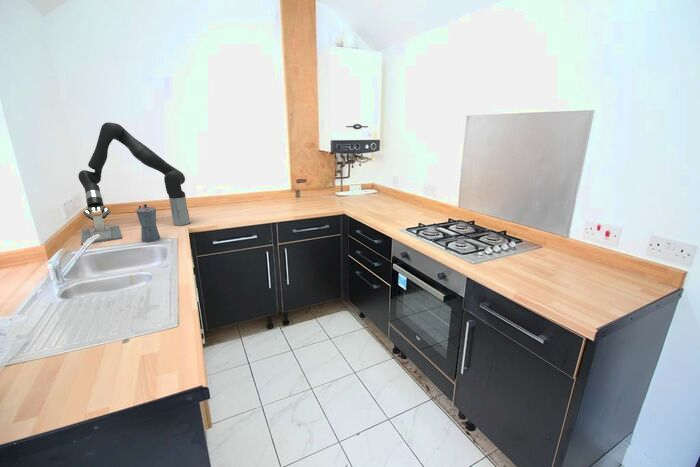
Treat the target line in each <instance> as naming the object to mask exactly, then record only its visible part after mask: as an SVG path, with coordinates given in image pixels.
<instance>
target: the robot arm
mask: <svg viewBox="0 0 700 467" xmlns="http://www.w3.org/2000/svg"><path fill="white" fill-rule="evenodd" d="M113 140H116V141H117V142H119V143H121V144H122V145H124V146H125V147H126V148H127V149H128V150H129V152H130V153H131V155H132V156H133V157H134V158H135V159H137V160H138V161H140V162H141V163H142V164H143V165H145V166H147V167H149V168H151V169H153V170H156V171H158V172H160V173H161V174H162V175H164V179H163V180H164V186H165V190H166V194H167V195H168V200H169V206H170V211H171V212H170V213H171V218H172V224H173V226H180V227H181V226H186V225H189V223H190V224H191V220H190V213H189V209H188V203H187V199H186V193H185V192H184V191H183V189H182V185H183V184H184V183H185V181H186V178H185V174H184V173H183V172H182V171H180V170H178V169H177V168H175V167H174V166H172V165H171V164H169V163H168V162H167V161H165V160H164V159H163V158H162V157H160V156H159V155H158V154H156V152H155V151H153V150H152V149H151V148H149V147H148V146H146V145H145V144H143V142H141V141H139V140H138V139H136V138H135V136H133V135H131V133H129V132H128V131H127V130H126V129H125V128H124V127H123V126H122V125H121V124H119V123H115V122H104V123H103V124H102V125H101V127H100V129H99V134H98V138H97V142H96V145H95V149H94V151H93V153H92V156H90V157H91V158H90V160H89V161H88V164H87V166H88V167H89V169H92V170H93V171H94V172H93V171H91V170H85V169H81V170H80V171H79V172H78V176H77V177H78V180H79V182H80V184H81V186H83V187H82V188H83V189H84V192H85V200H86V205H87V208H86V210H84V211H83V212H82V213H83V216H85V217H86V218H88V219H89V220H91V221H94V220H93V217H92V215H91V212H92V211H102V219H103V220H104V219H106V218H107V217H108V215H109V214H110V213H111V209H110V208H106V206H105V205H104V201H103V195H102V193H101V189H100V186H99V183H100V182H101V180H102V173H103V168H104V166H105V164H106V162H107V158H108V152H109V147H110V145H111V144H112V141H113Z"/></svg>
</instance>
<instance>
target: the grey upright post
mask: <svg viewBox="0 0 700 467" xmlns="http://www.w3.org/2000/svg"><path fill="white" fill-rule="evenodd" d="M90 215H92V217H93V220H92V221H93V223H94V228H95V229H96V232H102V231H105V227H106V226H105V224H104V219H102V215H103V213H102V211H92V212H91V213H90Z"/></svg>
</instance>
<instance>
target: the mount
mask: <svg viewBox="0 0 700 467" xmlns="http://www.w3.org/2000/svg"><path fill="white" fill-rule="evenodd" d="M104 227H105V229H106V231H102V232H96V231H95V227H93V228H90V229H89V230H90V235H91V237H92V236H93V235H96V234H99V235H100V237H99V238H98V239H97V240H103V239H109V238H112V236H111V231H110V227H111V225H108V226H107V225H106V226H104ZM97 240H95V241H97Z"/></svg>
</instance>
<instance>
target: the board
mask: <svg viewBox="0 0 700 467" xmlns="http://www.w3.org/2000/svg"><path fill="white" fill-rule="evenodd" d="M95 231H96V229H95ZM105 231H106V229H105ZM110 231H111V236H112V238H109V239H103V240H97V241H94V242H93V243H92V244H97V243H98V244H99V243H103V242H104V243H105V242H110V241H116V240H122V239H123V236H122V231H121V228H120V225H118V224H117V225H112V226H111V225H110ZM90 237H91V235H90V229H84V230H83V229H82V230H81V240H80V241H81V246H84V245H83V243H84V242H85V241H86V240H87V239H88V238H90Z"/></svg>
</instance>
